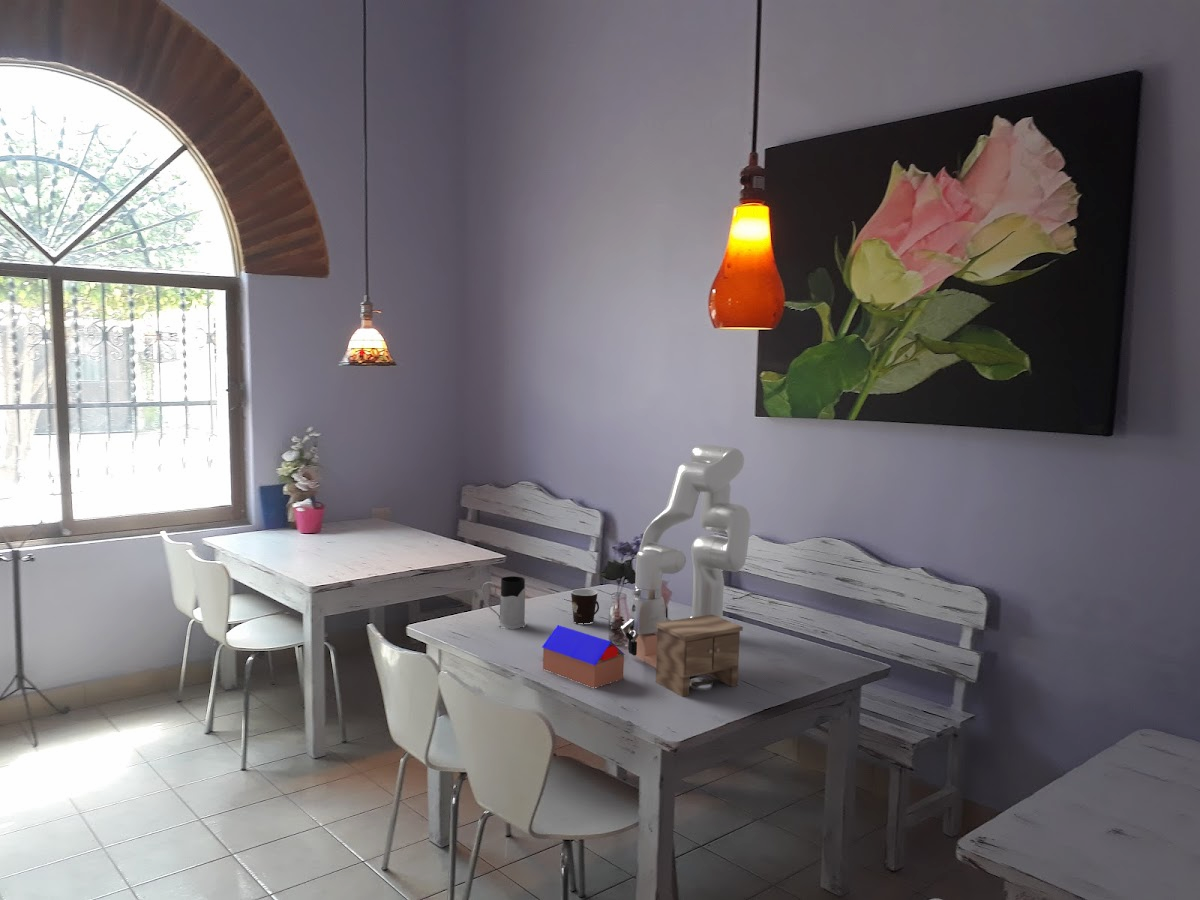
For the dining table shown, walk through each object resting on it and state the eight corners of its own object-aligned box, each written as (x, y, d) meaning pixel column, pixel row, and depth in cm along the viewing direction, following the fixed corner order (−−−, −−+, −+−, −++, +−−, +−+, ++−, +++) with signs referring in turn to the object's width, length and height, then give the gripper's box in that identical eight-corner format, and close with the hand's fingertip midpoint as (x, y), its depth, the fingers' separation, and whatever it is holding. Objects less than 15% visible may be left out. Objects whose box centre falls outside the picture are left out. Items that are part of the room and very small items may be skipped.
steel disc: (684, 685, 240) (685, 680, 240) (702, 681, 243) (702, 676, 243) (699, 692, 235) (699, 687, 235) (717, 688, 238) (717, 682, 238)
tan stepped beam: (633, 656, 262) (634, 632, 261) (648, 653, 265) (648, 630, 264) (677, 679, 244) (678, 654, 243) (692, 676, 246) (693, 651, 246)
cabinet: (653, 681, 241) (655, 622, 240) (709, 670, 251) (711, 614, 250) (683, 698, 230) (686, 637, 228) (741, 686, 240) (744, 627, 238)
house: (572, 661, 257) (573, 621, 256) (624, 679, 243) (626, 637, 242) (541, 670, 248) (542, 629, 247) (594, 690, 234) (595, 646, 233)
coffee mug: (568, 618, 298) (569, 589, 297) (594, 618, 300) (595, 588, 299) (573, 629, 287) (574, 598, 286) (600, 628, 288) (601, 597, 287)
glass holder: (523, 629, 285) (525, 582, 283) (479, 627, 285) (479, 581, 284) (527, 621, 293) (528, 576, 292) (483, 620, 294) (484, 574, 292)
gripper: (629, 599, 252) (627, 660, 253) (680, 592, 261) (678, 651, 262) (615, 593, 258) (613, 652, 260) (665, 587, 267) (663, 644, 269)
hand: (646, 651), depth 261 cm, fingers open, 8 cm apart
